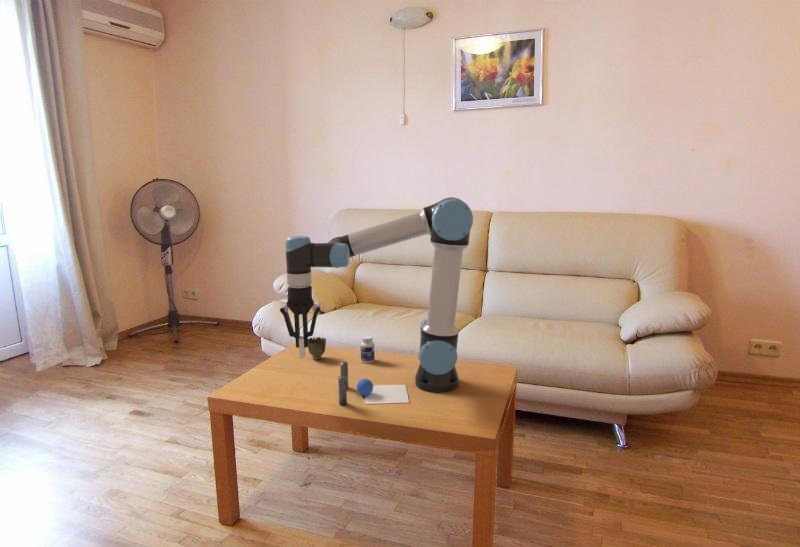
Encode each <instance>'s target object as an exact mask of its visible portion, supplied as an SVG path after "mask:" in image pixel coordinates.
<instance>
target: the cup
mask: <svg viewBox="0 0 800 547" xmlns="http://www.w3.org/2000/svg"><path fill="white" fill-rule="evenodd" d="M321 337H322V336H321ZM321 337H320V336H319V337H318V336H316V337H314V336H313V338H312V337H309V338H308V347H307V349H308V353H309V354H310V355H311V356H312V359H313V360H315V361H318V360H321V359H322V357H323V355H324V353H325V351H326V345H327V338H326V337H322V338H321Z"/></svg>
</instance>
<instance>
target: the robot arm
mask: <svg viewBox="0 0 800 547" xmlns="http://www.w3.org/2000/svg"><path fill="white" fill-rule="evenodd" d="M473 224H474V215H473V211H472V209H471V208H470V206H469V205H468V204H467V202H465V201H463V200H462V199H460V198H457V197H451V196H450V197H445V198H443V199H441V200H439V201H437V202H435V203H432V204H431V205H428V206H424V207H422V209H421V211H419V212H416V213H413V214H409V215H406V216H403V217H399V218H397V219H393V220H391V221H387V222H384V223H380V224H377V225H375V226H371V227H368V228H364V229H361V230H358V231H355V232H351V233H348V234H345V235H342V236H336V237H333V238H331V239H330V240H329V241H328V242H317V243H315V242H312V241H311V238H310V237H309V236H306V235H294V236H290V237H289V236H288V237H286V240H285V259H286V282H287V301H286V304H285V305H283V306H281V307H280V309H279V311H280V313H281V314H282V315H283V318H284V321H285V326H286V328H287V332H288V335H289V337H293V338H294V339H295V348H298V349H299V350H298V351H299V353H298V354H299V359H305V357H306V348H308V339H309V338H310V337H312V336H313V335H314V332H315V329H316V328H315V326H316V323H317V318H318V314H319V312H320V311H321V308H322V307H321V305H317V304H315V301H314V299H313V286H312V285H311V284H312V268H336V269H339V268H347V267H348V266H349V264H350V258H352V257H356V256H360V255H361V254H365V253H369V252H371V251H375V250H379V249H381V248H387V247H388V246H392V245H395V244H399V243H403V242H405V241H409V240H412V239H416V238H420V237H423V236H425V235H429V236H430V243H431V244H432V246H433V248H434V249H433V250H434V251H433V261H432V270H431V271H432V272H431V282H430V290H429V302H428V312H427V318H426V319H423V320H422V321H421V322H420V327H419V329H420V337H419V338H420V341H419V351H418V355H417V356H418V360H419V365H418V369H417V371H416V374H415V378H414V383H415V386H416V387H417V388H419V390H423V391H426V392H431V393H445V392H446V391H447V392H450V390H451V391H453V389H454V390H456V389H457V388H458V387H459V385H460V384H459V382H460V378H459V375H458V371H457V368H456V364H457V361H458V352H457V350H458V342H459V339H458V338H459V329H458V328H457V327H456V326H455V322H456V314H457V304H458V297H459V288H460V287H459V286H460V278H461V269H462V263H463V262H462V261H463V260H462V259H463V251H464V250H465V249H466V248H468V246H469V243H470V237H471V236H470V234H471V229H472V226H473ZM311 309H312V311H313V314H312V319H311V323H310V329H309V326H308V324H309V323H308V314H309V312H310V311H311ZM289 310H290V312H292V313H293V317H294V327H293V324H292V321H291V317H290V315H289V314H290V313H289ZM300 315H301V318H302V334H303V335H302V336H301V328H300V326H301V325H300ZM455 388H456V389H455ZM447 392H446V393H447Z"/></svg>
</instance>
